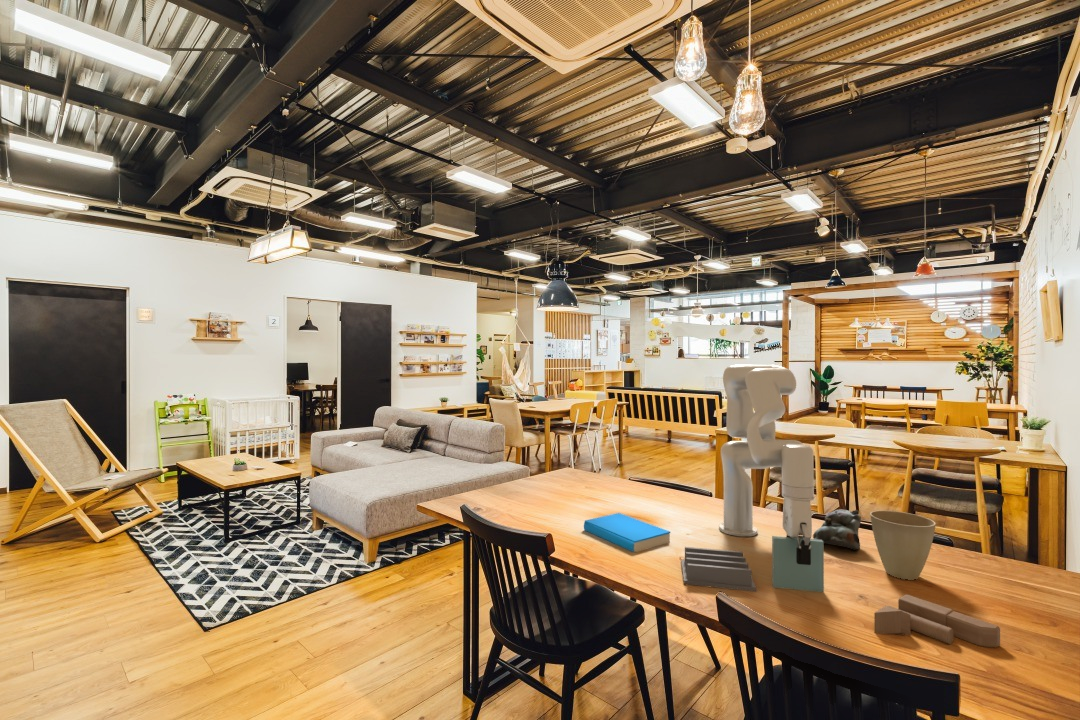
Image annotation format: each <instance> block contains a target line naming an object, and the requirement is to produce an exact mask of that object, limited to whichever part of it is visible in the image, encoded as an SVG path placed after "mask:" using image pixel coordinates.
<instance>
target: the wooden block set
mask: <svg viewBox="0 0 1080 720" xmlns="http://www.w3.org/2000/svg"><path fill="white" fill-rule="evenodd" d="M897 602H898V604H897V606H898V608H896V607H893V606H891V605H885V606H884V607H882V608H880V609H878V610H877V611H875V612H874V614H873V616H874V622H873V623H874V626H873V628H874V634H882V635H884V634H885V635H899V636H900V635H901V636H911V630H912V631H914V632H917V633H920V634H922V635H925V636H927V637H929V638H932V639H935V640H937V641H940V642H943V643H946V644H948V645H951V644H952V643H953V641H954V638H956V639H961V640H962V641H966V642H968V643H970V644H974V645H976V646H979V647H983V646H984V647H985V648H993V647H995V649H996V648H998V647H999V646H1000V645H1001V628H1000V626H998V624H993V623H990V622H988V621H984V620H982V619H979V618H975V617H972V616H970V615H966V614H963V613H961V612H957V611H954V610H953V609H952V608H949V607H945V606H943V605H940V604H937V603H934V602H931V601H928V600H924V599H923V598H922V599H921V598H918V597H916V596H913V595H910V594H904V595H903V596H901V597H899V598H898V601H897ZM954 636H955V637H954ZM984 647H983V648H984Z"/></svg>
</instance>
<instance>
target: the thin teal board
mask: <svg viewBox="0 0 1080 720" xmlns="http://www.w3.org/2000/svg"><path fill="white" fill-rule="evenodd" d="M771 539H772V540H771V541H772V542H771V545H772V546H771V547H772V548H771V553H772V554H771V557H772V558H771V560H772V561H771V564H772V566H771V568H772V569H771V574H772V575H771V577H772V578H771V585H772V588H776V589H777V588H778V589H786V588H788V589H789V590H796V591H797V590H798V591H806V592H807V591H808V592H817V593H824V591H825V589H824V588H825V587H824V586H825V585H824V583H825V582H824V581H825V579H824V577H825V572H824V571H825V569H824V564H825V563H824V560H825V557H824V556H825V555H824V554H825V553H824V551H825V550H824V546H825V545H824V544H825V543H824V542H823V541H822V540H818V539H814V538H810V542H811V543H810V546H811V565H802V564H797V562H796V547H797V548H798V545H797V540H796V538H791V537H786V536H777V535H776V536H774V535H772V536H771ZM801 541H802V540H800V543H801Z"/></svg>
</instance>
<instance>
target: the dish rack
mask: <svg viewBox="0 0 1080 720" xmlns="http://www.w3.org/2000/svg"><path fill="white" fill-rule="evenodd" d="M746 561H747V559H746V557H745V556H744V552H743V551H740V550H730V549H728V550H727V549H715V548H705V547H704V548H703V547H690V546H684V559H683V558H681V560H680V564H681V571H682V572H681V573H682V579H683V584H684V585H686V584H688V585H687V586H689V585H690V586H696V585H697V586H699V587H706V586H711V587H710V588H716V587H718V588H717V589H728V590H739V591H747V592H748V591H749V592H757V586H756V584H755V581H754V580H753V578H752V569H751V568H749V566H750V565H749V562H746Z"/></svg>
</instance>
